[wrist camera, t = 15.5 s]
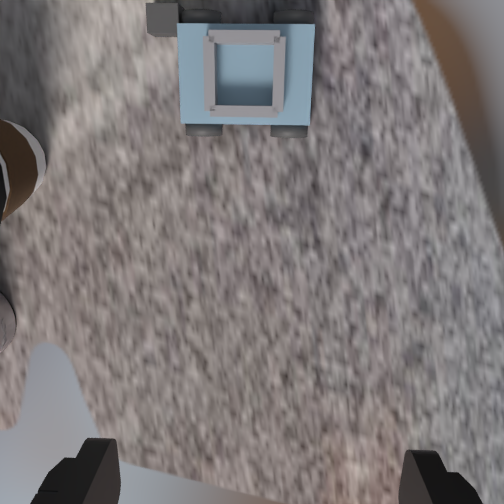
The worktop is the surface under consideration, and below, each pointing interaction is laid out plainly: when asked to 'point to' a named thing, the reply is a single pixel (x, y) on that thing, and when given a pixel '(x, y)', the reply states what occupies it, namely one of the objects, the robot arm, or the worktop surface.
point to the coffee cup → (18, 166)
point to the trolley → (246, 72)
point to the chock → (163, 19)
